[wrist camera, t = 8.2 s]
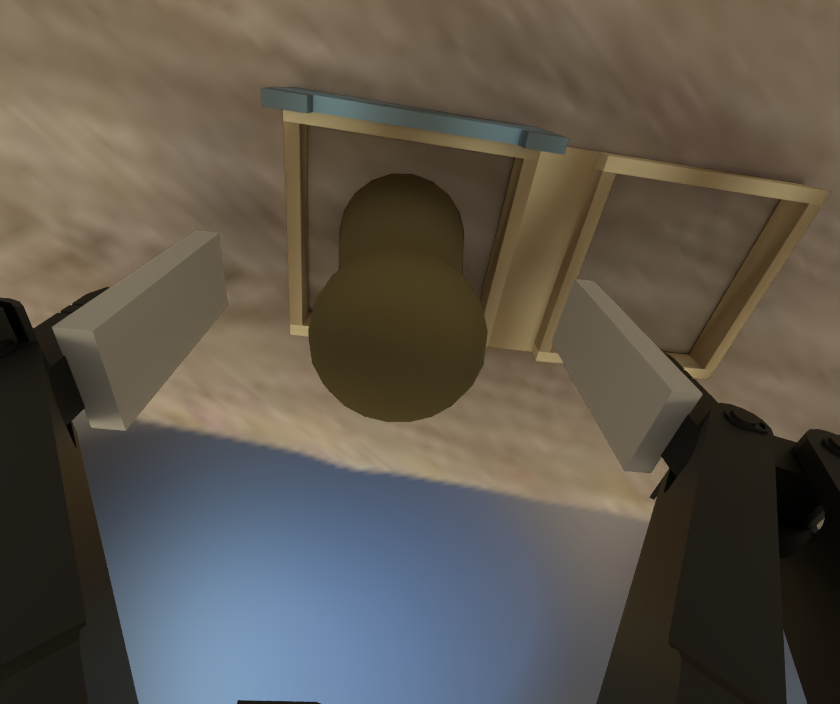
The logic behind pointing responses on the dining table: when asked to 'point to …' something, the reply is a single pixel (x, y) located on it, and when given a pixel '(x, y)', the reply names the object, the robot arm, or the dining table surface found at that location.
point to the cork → (399, 305)
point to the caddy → (536, 217)
